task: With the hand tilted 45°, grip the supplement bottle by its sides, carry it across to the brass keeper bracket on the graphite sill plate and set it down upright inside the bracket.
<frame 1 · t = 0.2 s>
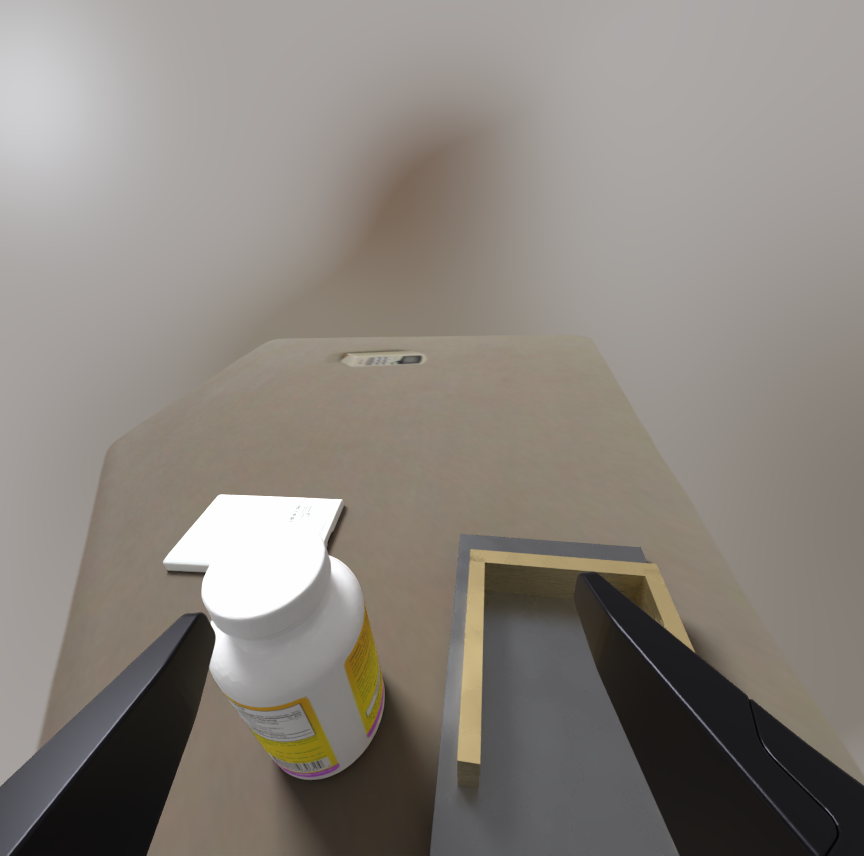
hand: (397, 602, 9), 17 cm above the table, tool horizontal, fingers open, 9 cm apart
supplement bottle: (329, 710, 22), on the table
sill keeper: (566, 683, 22), on the table
external hard drive: (265, 540, 34), on the table
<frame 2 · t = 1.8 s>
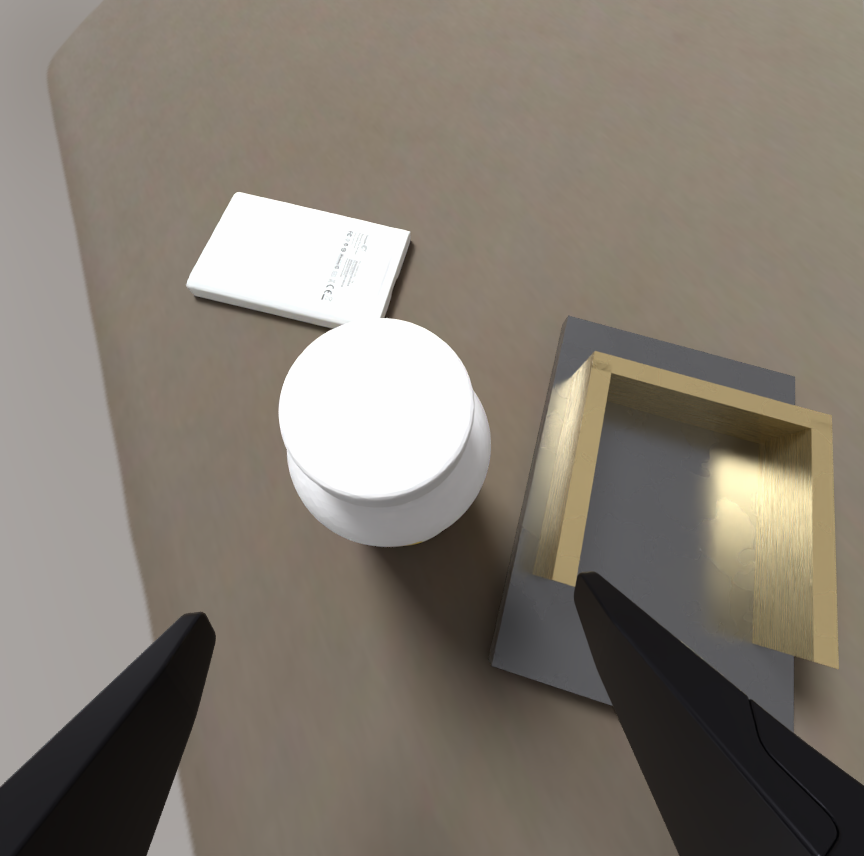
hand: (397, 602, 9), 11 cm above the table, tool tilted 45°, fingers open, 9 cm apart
supplement bottle: (403, 484, 21), on the table
sill keeper: (651, 505, 21), on the table
external hard drive: (309, 274, 26), on the table
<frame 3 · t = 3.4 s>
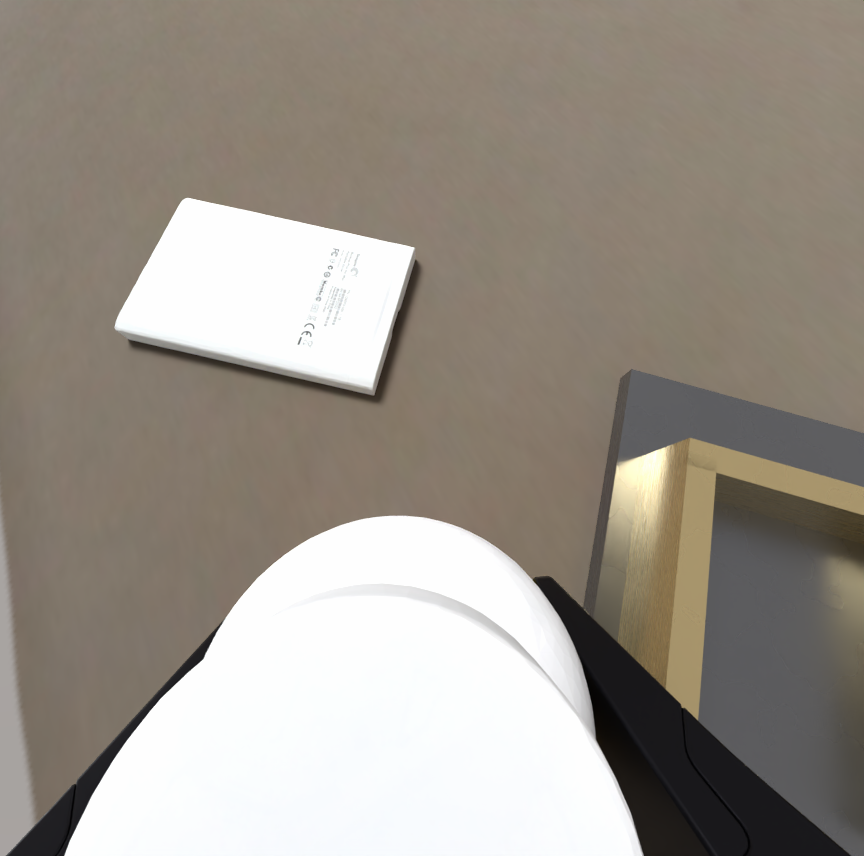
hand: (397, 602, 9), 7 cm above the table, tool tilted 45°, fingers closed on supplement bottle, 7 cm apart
supplement bottle: (410, 613, 15), on the table, touching gripper
sill keeper: (757, 644, 15), on the table
external hard drive: (283, 305, 20), on the table
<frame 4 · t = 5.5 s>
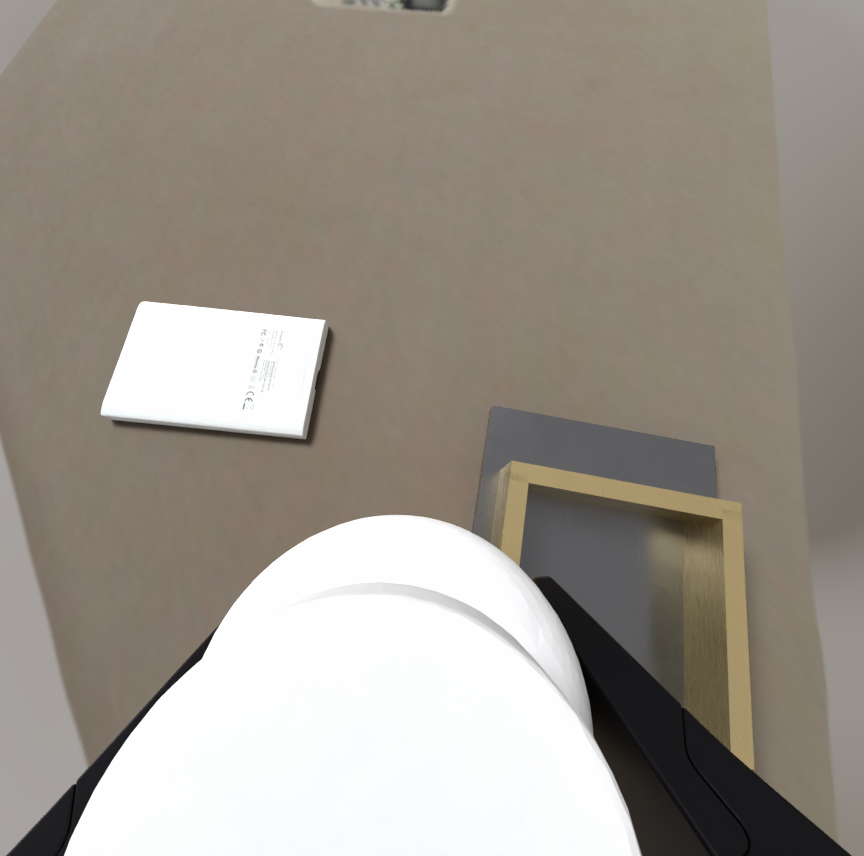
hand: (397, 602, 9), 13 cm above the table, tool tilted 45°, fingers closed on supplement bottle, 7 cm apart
supplement bottle: (408, 612, 15), point 6 cm above the table, touching gripper
sill keeper: (585, 593, 22), on the table
external hard drive: (230, 375, 26), on the table
when the fingers open (9 cm above the table, at t = 7.7 s): supplement bottle drops 1 cm, resting on sill keeper.
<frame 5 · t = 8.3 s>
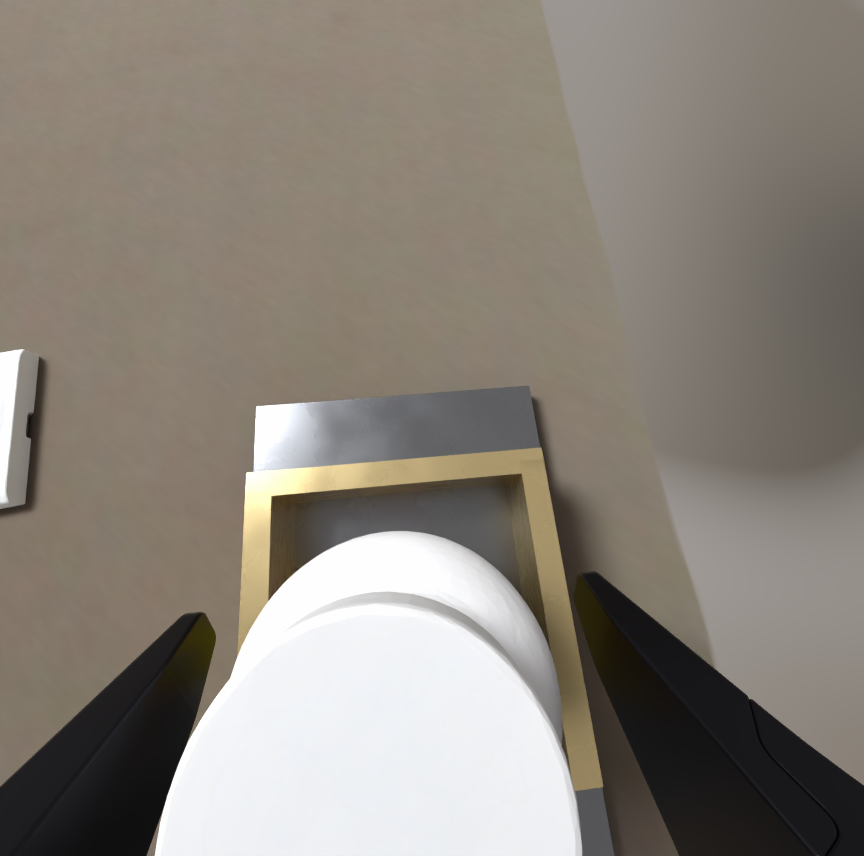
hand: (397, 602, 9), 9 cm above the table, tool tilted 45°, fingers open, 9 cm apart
supplement bottle: (409, 612, 17), point 1 cm above the table, touching sill keeper
sill keeper: (410, 604, 17), on the table
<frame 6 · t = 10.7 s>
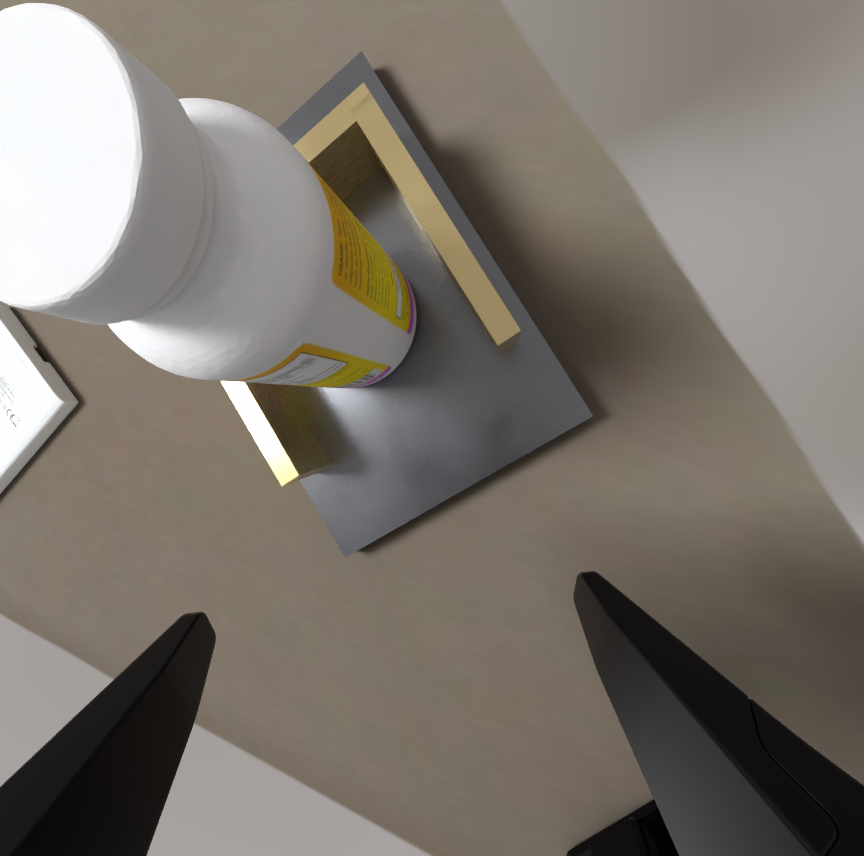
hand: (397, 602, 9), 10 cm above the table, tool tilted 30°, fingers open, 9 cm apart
supplement bottle: (355, 322, 19), point 1 cm above the table, touching sill keeper
sill keeper: (360, 322, 19), on the table
external hard drive: (8, 415, 26), on the table
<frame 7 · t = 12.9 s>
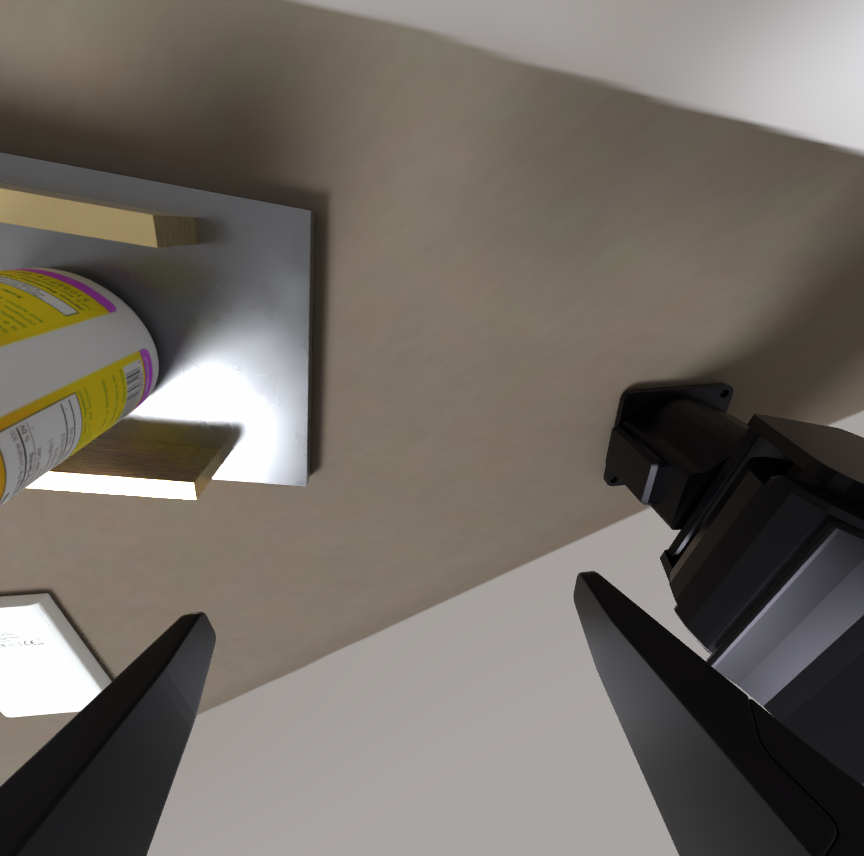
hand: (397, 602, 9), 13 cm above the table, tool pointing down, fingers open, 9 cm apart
supplement bottle: (88, 344, 17), point 1 cm above the table, touching sill keeper
sill keeper: (95, 338, 18), on the table
external hard drive: (38, 643, 28), on the table
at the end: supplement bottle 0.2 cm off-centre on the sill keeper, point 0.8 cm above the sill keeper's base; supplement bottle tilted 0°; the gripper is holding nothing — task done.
